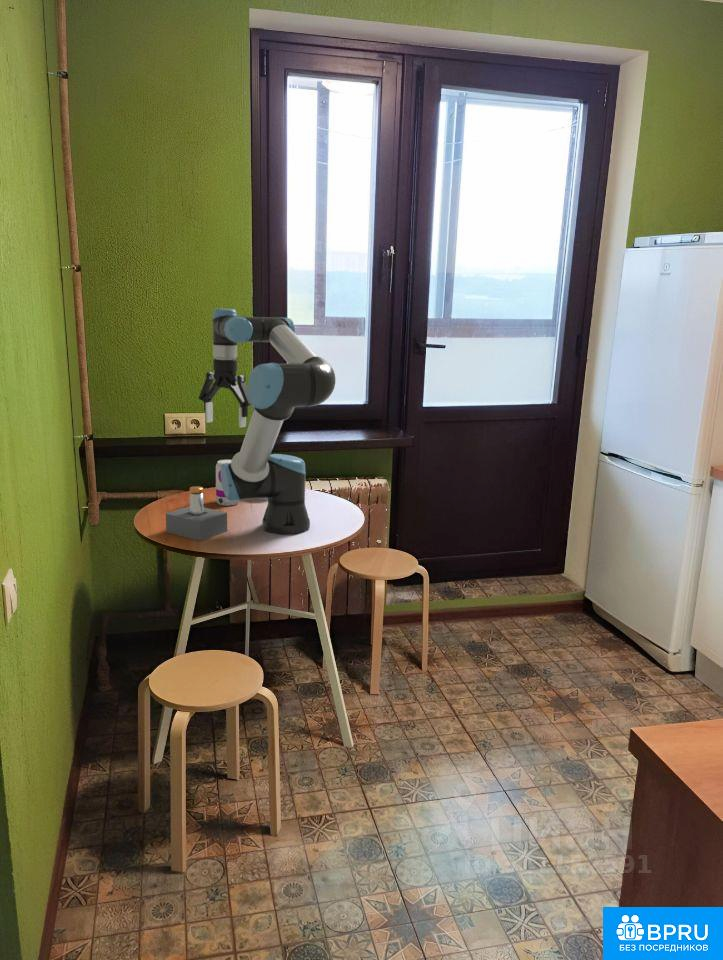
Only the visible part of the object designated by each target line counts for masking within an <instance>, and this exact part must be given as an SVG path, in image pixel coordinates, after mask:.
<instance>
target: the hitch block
mask: <svg viewBox="0 0 723 960" xmlns="http://www.w3.org/2000/svg"><path fill="white" fill-rule="evenodd" d="M203 511H204V514H203V515H200V516H193V515H190V505H189V506H186V507H181V508H179V509H175V510H172V511H170V512H166V513H165V530H166V531H165V532H166V533H167V532H168V534H171V535H176V536H180V537H182V538H187V539H191V540H195V541H199V542H201V541H206V540H207V539H210V538H212V537H216V536H217V535H220V534H223V533H226V532H228V513H227V512H225V511H221V510H218V509H213V508H207V507H204V506H203Z"/></svg>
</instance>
